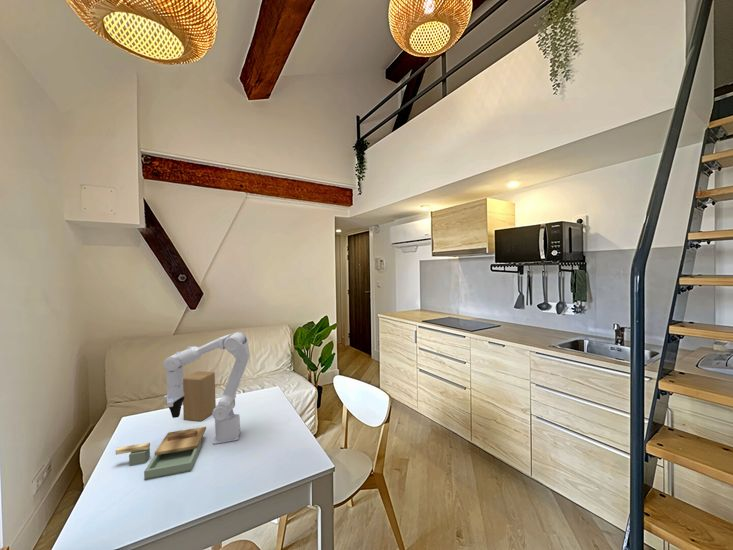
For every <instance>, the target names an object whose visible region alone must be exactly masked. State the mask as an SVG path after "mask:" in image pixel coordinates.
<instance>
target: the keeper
mask: <svg viewBox="0 0 733 550" xmlns="http://www.w3.org/2000/svg"><path fill="white" fill-rule="evenodd" d="M150 457H151V446H150V447H149V449H147V450H141V451H135V452H129V455H128V461H129V462H128V464H129V467H130V466H137V465H143V464H146V463H147V462H148V460H149V459H150Z"/></svg>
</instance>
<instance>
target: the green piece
mask: <svg viewBox="0 0 733 550" xmlns="http://www.w3.org/2000/svg"><path fill="white" fill-rule="evenodd" d="M201 442H202V440H201V441H200V443H199V446H198V448H194V449H188V450H182V451H177V452H171V453H165V454H159V455H155V454H154V455H153V457H152V458H151V461H150V462H149V463H148V464H147V466H146V468H145V470H144V471H143V473H144V474H143V475H144V479H143V480H144V481H147V480H153V479H158V478H162V477H168V476H173V475H179V474H183V473H188V472H192V470H193V468H194V465H195V464H196V461H197V459H198V456H199V454H200V452H201V449H202V443H201Z"/></svg>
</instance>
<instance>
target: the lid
mask: <svg viewBox="0 0 733 550" xmlns="http://www.w3.org/2000/svg"><path fill="white" fill-rule="evenodd" d="M206 430H207V426H202V427H195V428H194V427H193V428H190V429H189V428H188V429H184V430H183V429H182V430H176V431H171V432H167V434H166V435H165V437H164V438H163V439H162V441H161V443H160V444H159V446H158V447H157V448H156V450H155V451H154V456H155V455H159V454H165V453H171V452H177V451H182V450H188V449H194V448H198V446H199V443H200V441H201V442H202V439H203V437H204V434H205V432H206Z"/></svg>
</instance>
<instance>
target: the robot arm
mask: <svg viewBox="0 0 733 550" xmlns="http://www.w3.org/2000/svg"><path fill="white" fill-rule="evenodd" d="M248 342H249V338H248V337H247V336H246V335H245V334H244V333H243V332H241V331H235V332H233V333H230V334H226V335H223V336H220V337H218V338H216V339H214V340H212V341H210V342H208V343H205V344H203V345H201V346H195V345H194V346H191V345H190V346H187V347H186V349H184V350H182V351H176V352H175V354H173V355H171V356H168V357H166V359H164V361H163V363H162V366H163V369H164V370H165V372H166V373H165V375H166V395H164V396H163V399H166V403H165V404H166V408H168V409H169V411H170V414H171V418H173V419H175V418H179V417H180V414H181V410H182V407H183V400H184V398H185V397H183V396H184V391H183V378H184V367H183V366H186V365H189V364H190V363H191V364H192V363H193V362H195V361H197V360H200V359H201V357H202V355H203V354H206V353H209V352H211V351H214V350H216V349H221V350H226V351H227V352H228V353H230V354H231V355H232V356H233V357H234V358H235V361H234V363H233V366H232V369H231V371H230V374H229V377H228V379H227V382H226V385H225V388H224V390H223V393H222V394H221V397H220V399H219V401H218V404H216V405H217V406H216V407H215V408H214V410H213V412H212V414H211V416H212V418H213V419H214V427H215V428H214V430H215V431H214V432H215V435H214V439H213V442H212V444H213V445H217V444H223V443H228V442H234V441H238V440H239V438H240V433H241V420H240V419H241V418H240V417H241V416H240V414H239V413H238V414H235V411H234V408H235V407H236V397H237V396H236V394H237V391H238V390H239V386H240V384H241V381H242V378H243V375H244V373H245V370H246V368H247V364H248V362H249V359H250V356H251V353H250V349H249V343H248Z"/></svg>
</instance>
